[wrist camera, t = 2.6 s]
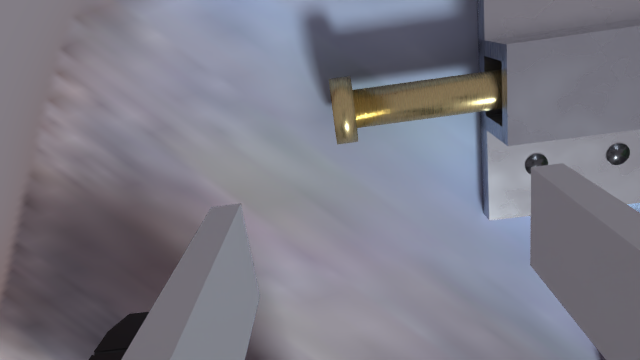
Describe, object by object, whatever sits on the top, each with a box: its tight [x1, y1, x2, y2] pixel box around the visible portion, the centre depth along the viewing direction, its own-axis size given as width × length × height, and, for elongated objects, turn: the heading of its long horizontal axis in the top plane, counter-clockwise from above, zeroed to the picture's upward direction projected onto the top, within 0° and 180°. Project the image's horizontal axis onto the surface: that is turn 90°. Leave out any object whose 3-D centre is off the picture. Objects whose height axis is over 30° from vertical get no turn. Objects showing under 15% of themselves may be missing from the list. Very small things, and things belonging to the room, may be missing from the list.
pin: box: [329, 69, 502, 144], centre depth 27 cm, size 18×4×4 cm, turn 98°
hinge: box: [477, 0, 640, 221], centre depth 27 cm, size 16×18×5 cm
